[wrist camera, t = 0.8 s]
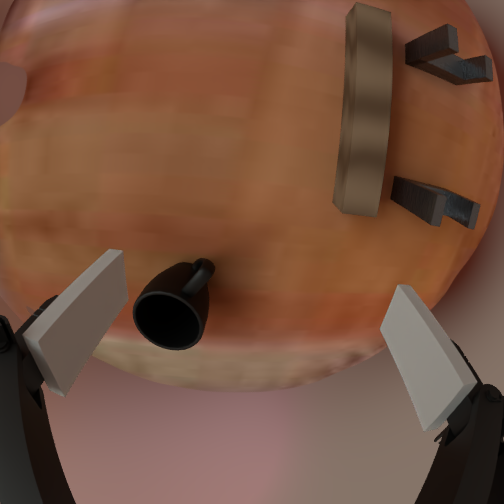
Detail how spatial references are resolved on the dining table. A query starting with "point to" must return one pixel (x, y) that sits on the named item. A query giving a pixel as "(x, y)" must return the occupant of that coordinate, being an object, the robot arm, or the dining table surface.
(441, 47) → the bracket
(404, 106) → the dining table surface
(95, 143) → the dining table surface
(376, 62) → the rail
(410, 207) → the bracket
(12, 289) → the dining table surface
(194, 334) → the mug
